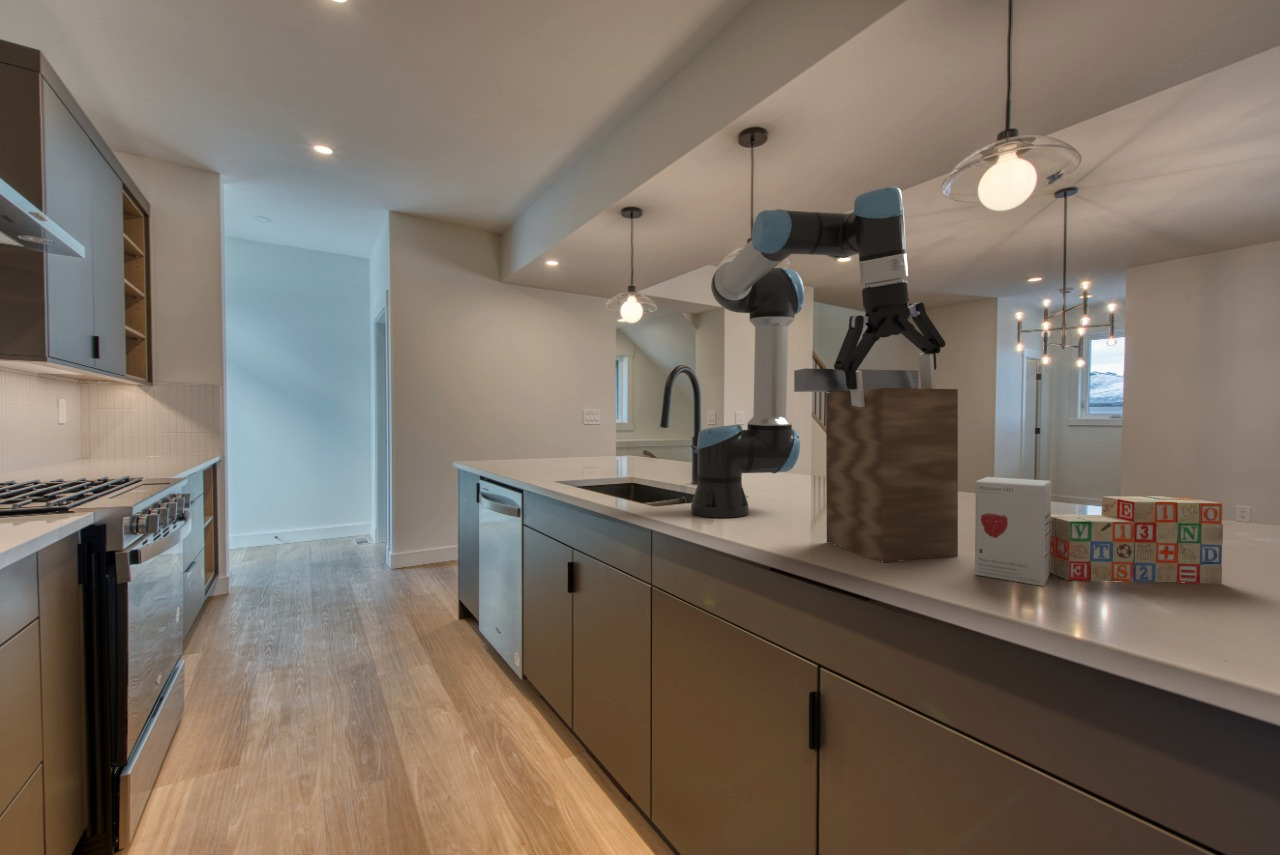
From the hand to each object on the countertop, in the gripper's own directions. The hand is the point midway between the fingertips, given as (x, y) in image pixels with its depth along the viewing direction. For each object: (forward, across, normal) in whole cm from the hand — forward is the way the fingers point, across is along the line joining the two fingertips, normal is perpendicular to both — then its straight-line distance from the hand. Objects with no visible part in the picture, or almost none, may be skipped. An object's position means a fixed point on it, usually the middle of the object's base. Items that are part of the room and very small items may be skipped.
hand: (893, 400), depth 98 cm
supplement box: (+26, +2, -22) cm, 34 cm away
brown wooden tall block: (+28, -5, -2) cm, 28 cm away
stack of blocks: (+29, +18, -27) cm, 43 cm away
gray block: (-2, -4, +5) cm, 7 cm away
